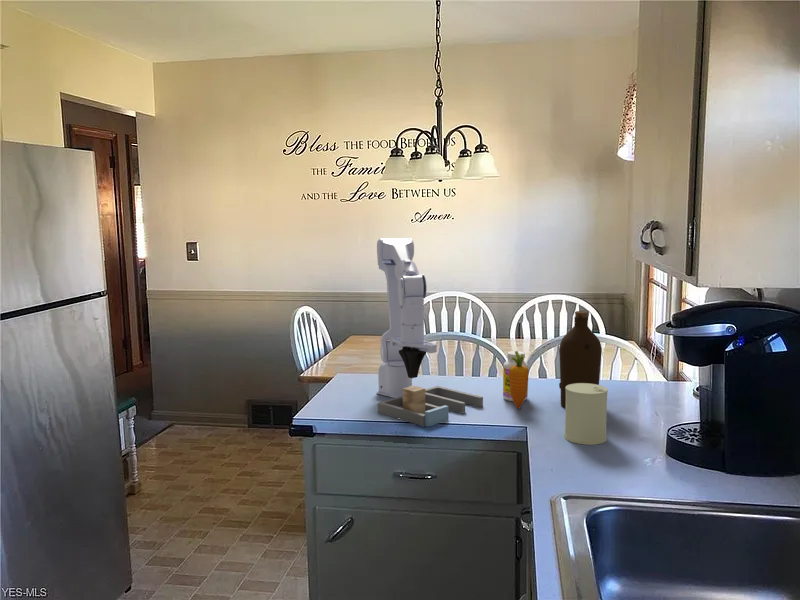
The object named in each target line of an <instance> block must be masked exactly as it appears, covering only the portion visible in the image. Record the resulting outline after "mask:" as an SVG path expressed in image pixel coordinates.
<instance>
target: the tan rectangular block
mask: <svg viewBox="0 0 800 600" xmlns="http://www.w3.org/2000/svg"><path fill="white" fill-rule="evenodd" d="M425 389H426V388H425V387H421V386H417V385H412V386H411V387H407V388H403V408H404V409H408V410H411V411H415V412H418V413H422V414H425Z"/></svg>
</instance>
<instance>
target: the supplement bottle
mask: <svg viewBox="0 0 800 600" xmlns="http://www.w3.org/2000/svg"><path fill="white" fill-rule="evenodd" d="M515 351H516V350H511V351H507V355H506V356H507V357H506V358H507V360H506V361H505V362H504V363H503V368H502V369H503V371H502V372H503V374H502V375H503V377H502V378H503V379H502V397H503V399H504V400H506V401H510V402H513V399H512V396H511V391H510V385H509V369H510V367H512V366H514V365H517V364H516V362H515V361H514V360H513V359H512V358H511V357H515V358H516V359H517V357H516V354H515ZM517 351H518V353H519V356H520V357H521V354H523V355H524V358H523V362H522V365H524V366H525V367H527V368H528V369H529V364H528V362H526V361H525V358H526V353H525V352H524V351H519V350H517ZM528 389H529V387H528V388H527V393H526V397H525V399H524V401H526V400H528V394H529V392H528V391H529V390H528Z"/></svg>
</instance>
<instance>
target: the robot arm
mask: <svg viewBox="0 0 800 600" xmlns="http://www.w3.org/2000/svg"><path fill="white" fill-rule="evenodd" d="M376 254H377V256H376V257H377V265H378V269H379V270H381V271H382V272H384V274H385V279H386V289H387V290H386V292H387V304H388V305H387V307H388V320H389V321H388V323H389V329H388V330H387V331H385V332H384V333H383V334H382V335H381V337H380V346H379V348H380V350H379V351H380V359H381V362H382V363H381V364H380V365H379V367H378V373H377V374H378V377H377V378H378V380H377V381H378V390H377V391H376V394H378V395H382V396H386V397H389V398H391V399H393V398H396V397H400V396H403V388H407V387H411V386H413V379H416V378H418V376H419V372H420V367H421V364H422V362H423V359H424V358H425V357H426V356H425V355H426V354H427V353H428V354H434V353H437V352H438V351H437V350H438V348H437V346H438V345H437V344H434V343H432V342H429V341H427V340H425V311H424V310H425V308H424V307H425V306H424V304H425V303H424V301H425V300H424V299H425V298H426V297H427V279H426V276H425V274H422V273H419V270H418V267H417V265H416V263H415V262H414V261H413V259H414V255H415V243H414V240H413V239H412V237H407V238H406V237H405V238H404V237H403V238H401V237H400V238H399V237H398V238H381V237H380V238H379V239H377V241H376Z"/></svg>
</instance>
